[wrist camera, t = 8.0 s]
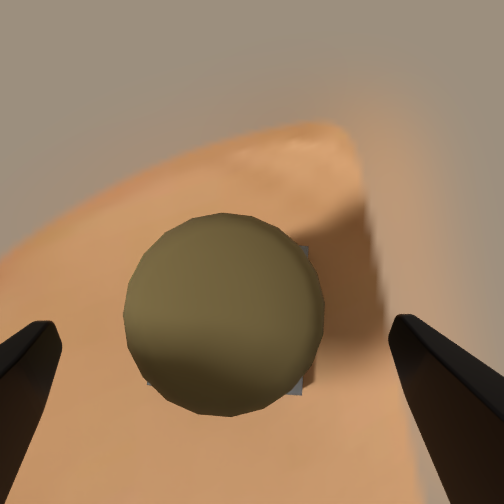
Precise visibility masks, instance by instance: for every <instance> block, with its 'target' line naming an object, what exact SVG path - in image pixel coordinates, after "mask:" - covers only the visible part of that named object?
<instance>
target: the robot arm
mask: <svg viewBox="0 0 504 504" xmlns="http://www.w3.org/2000/svg"><path fill="white" fill-rule="evenodd" d="M388 342H389V346H390V349H391V353H392V356H393V359H394V363H395V366H396V369H397V372H398V376H399V379H400V382H401V385H402V389H403V392H404V394H405V397H406V400H407V402H408V405H409V407H410V410H411V412H412V414H413V416H414V419H415V421H416V424H417V426H418V428H419V431H420V433H421V435H422V438H423V440H424V442H425V445H426V447H427V450H428V452H429V454H430V457H431V459H432V461H433V464H434V466H435V468H436V471H437V473H438V475H439V478H440V480H441V482H442V485H443V487H444V489H445V492H446V494H447V497H448V499H449V501H450V504H504V377H503V376H502V375H500V374H499V373H497V372H496V371H494V370H493V369H491V368H490V367H488V366H487V365H486V364H484V363H483V362H481V361H480V360H478V359H477V358H475V357H474V356H472V355H471V354H470V353H468V352H467V351H465V350H464V349H462V348H461V347H460V346H458V345H457V344H455V343H454V342H452V341H451V340H449V339H448V338H446V337H445V336H444V335H442V334H441V333H439V332H438V331H436V330H435V329H433V328H432V327H430V326H429V325H427V324H426V323H425V322H423V321H422V320H420V319H419V318H417V317H416V316H414V315H412V314H399V315H397V316H396V317H395V319H394V322H393V325H392V327H391V330H390V333H389V336H388ZM61 352H62V342H61V339H60V337H59V334H58V331H57V329H56V326H55V324H54V323H53V322H52V321H34V322H32V323H30V324H29V325H27V326H26V327H25V328H23V329H22V330H20V331H19V332H17V333H16V334H14V335H13V336H11V337H10V338H9V339H7V340H6V341H4V342H3V343H1V344H0V504H5V501H6V499H7V496H8V494H9V492H10V489H11V487H12V485H13V482H14V480H15V478H16V475H17V473H18V470H19V468H20V466H21V463H22V461H23V459H24V456H25V454H26V452H27V449H28V447H29V444H30V442H31V440H32V437H33V435H34V433H35V430H36V428H37V426H38V423H39V421H40V418H41V416H42V413H43V411H44V408H45V405H46V402H47V399H48V396H49V392H50V389H51V386H52V382H53V379H54V376H55V372H56V369H57V366H58V362H59V359H60V356H61Z"/></svg>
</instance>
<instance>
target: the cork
mask: <svg viewBox="0 0 504 504" xmlns="http://www.w3.org/2000/svg"><path fill="white" fill-rule="evenodd" d="M324 307H325V302H324V298H323V295H322V291H321V287H320V283H319V279H318V275H317V272H316V271H315V269H314V268H313V266H312V264H311V263H310V261H309V260H308V258H307V256H306V255H305V253H304V251H303V250H302V248H301V247H300V246H299V245H298V244H296V243H295V242H294V241H293V240H292V239H291V238H289V237H288V236H287V235H286V234H285V233H284V232H283V231H281V230H280V229H279V228H277V227H275V226H273V225H271V224H268V223H266V222H264V221H261V220H259V219H257V218H255V217H252V216H246V215H237V214H228V213H218V214H213V215H207V216H202V217H197V218H192V219H190V220H188V221H186V222H185V223H183V224H181V225H179V226H177V227H175V228H173V229H171V230H169V231H167V232H166V233H164V234H163V235H162V236H161V237H160V238H159V239H158V240H157V241H156V242H155V243H154V244H153V245H152V246H151V247H150V248H149V249H148V250H147V251H146V252H145V253H144V254H143V256H142V258H141V260H140V262H139V264H138V266H137V268H136V270H135V272H134V274H133V275H132V277H131V279H130V281H129V283H128V289H127V295H126V301H125V306H124V312H123V318H124V325H125V332H126V339H127V346H128V349H129V351H130V353H131V355H132V357H133V359H134V361H135V363H136V365H137V367H138V369H139V370H140V372H141V374H142V376H143V378H144V379H145V380H146V381H147V382H148V383H150V384H151V385H152V386H153V387H154V388H155V389H156V390H157V391H158V392H159V393H160V394H161V395H162V396H163V397H164V398H165V399H166V400H167V401H170V402H172V403H174V404H176V405H178V406H181V407H183V408H185V409H187V410H190V411H192V412H194V413H196V414H201V415H213V416H225V417H233V416H237V415H241V414H245V413H249V412H253V411H257V410H260V409H264V408H265V407H267V406H268V405H270V404H272V403H273V402H275V401H276V400H278V399H279V398H281V397H282V396H284V395H285V394H287V393H288V392H290V391H291V390H292V389H293V388H294V387H295V385H296V384H297V383H298V382H299V380H300V379H301V378H302V376H303V375H304V374H305V373H306V371H307V370H308V369H309V368H310V366H311V365H312V363H313V360H314V358H315V355H316V352H317V350H318V347H319V344H320V341H321V339H322V336H323V327H324Z"/></svg>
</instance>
